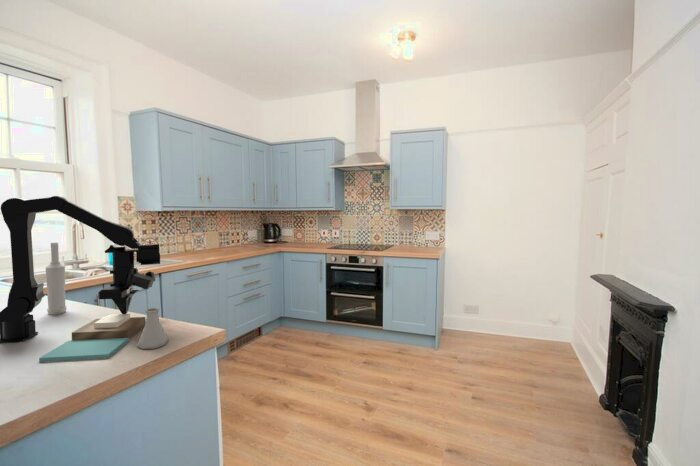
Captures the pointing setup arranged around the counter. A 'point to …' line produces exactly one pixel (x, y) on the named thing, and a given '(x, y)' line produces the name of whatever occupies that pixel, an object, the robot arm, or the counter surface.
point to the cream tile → (112, 320)
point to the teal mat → (85, 349)
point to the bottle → (55, 283)
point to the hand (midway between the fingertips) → (124, 314)
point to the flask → (152, 331)
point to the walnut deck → (110, 330)
